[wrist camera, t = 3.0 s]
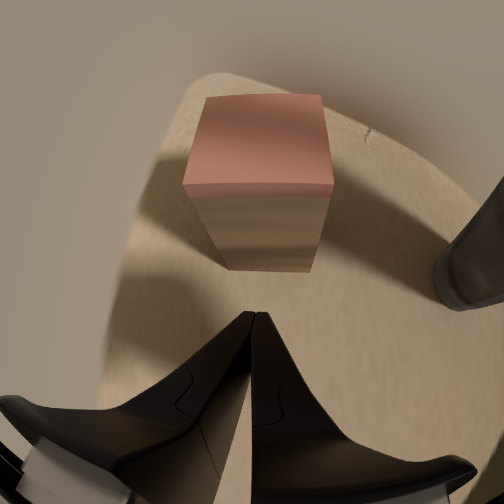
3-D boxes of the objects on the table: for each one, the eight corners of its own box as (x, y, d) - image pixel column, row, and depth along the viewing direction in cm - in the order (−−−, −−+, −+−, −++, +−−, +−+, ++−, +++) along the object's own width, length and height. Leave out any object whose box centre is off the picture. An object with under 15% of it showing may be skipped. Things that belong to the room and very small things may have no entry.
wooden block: (309, 272, 17) (334, 184, 8) (228, 270, 17) (182, 184, 9) (308, 202, 18) (320, 94, 10) (236, 201, 19) (206, 97, 11)
